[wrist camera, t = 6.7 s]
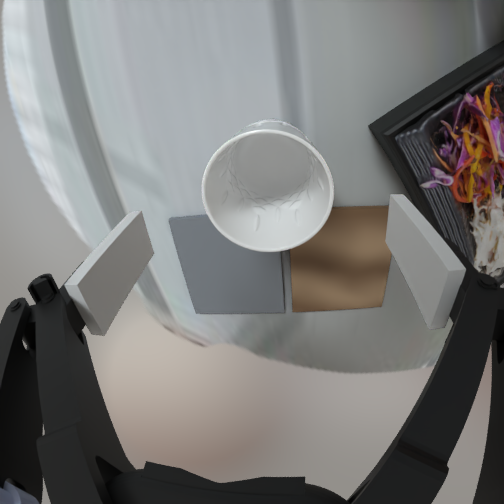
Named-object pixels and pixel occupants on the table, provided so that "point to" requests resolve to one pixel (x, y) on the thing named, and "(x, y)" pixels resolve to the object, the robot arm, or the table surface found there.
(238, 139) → the white cup
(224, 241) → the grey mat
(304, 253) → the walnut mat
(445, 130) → the food platter
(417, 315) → the table surface
